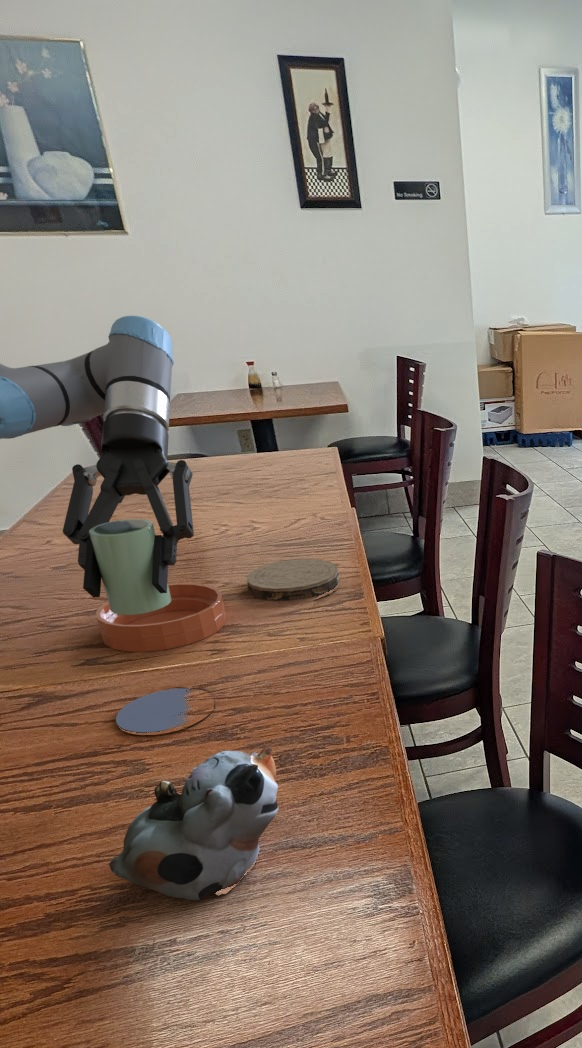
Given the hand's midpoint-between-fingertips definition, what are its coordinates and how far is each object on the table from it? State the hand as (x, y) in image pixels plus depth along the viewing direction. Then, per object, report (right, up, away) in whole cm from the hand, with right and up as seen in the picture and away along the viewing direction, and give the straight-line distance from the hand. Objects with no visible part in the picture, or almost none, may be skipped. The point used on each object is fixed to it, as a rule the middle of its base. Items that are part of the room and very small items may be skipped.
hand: (125, 590), depth 98 cm
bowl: (-11, -4, +34) cm, 36 cm away
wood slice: (+4, +5, +51) cm, 52 cm away
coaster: (0, -15, +10) cm, 18 cm away
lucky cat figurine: (+18, -28, -17) cm, 37 cm away
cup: (0, -1, +5) cm, 5 cm away
